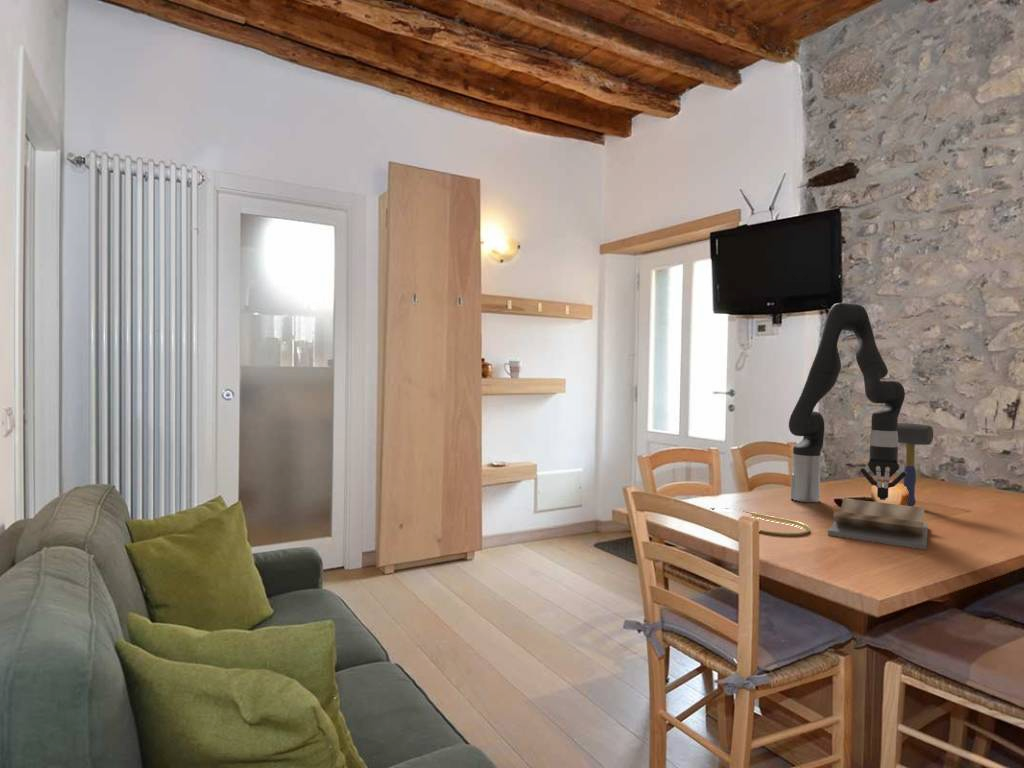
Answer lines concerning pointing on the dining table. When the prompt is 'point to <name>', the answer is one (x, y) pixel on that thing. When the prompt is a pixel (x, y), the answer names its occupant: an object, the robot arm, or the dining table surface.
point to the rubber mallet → (913, 451)
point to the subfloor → (880, 535)
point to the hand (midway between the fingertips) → (882, 499)
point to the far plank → (883, 510)
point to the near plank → (879, 523)
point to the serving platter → (780, 521)
